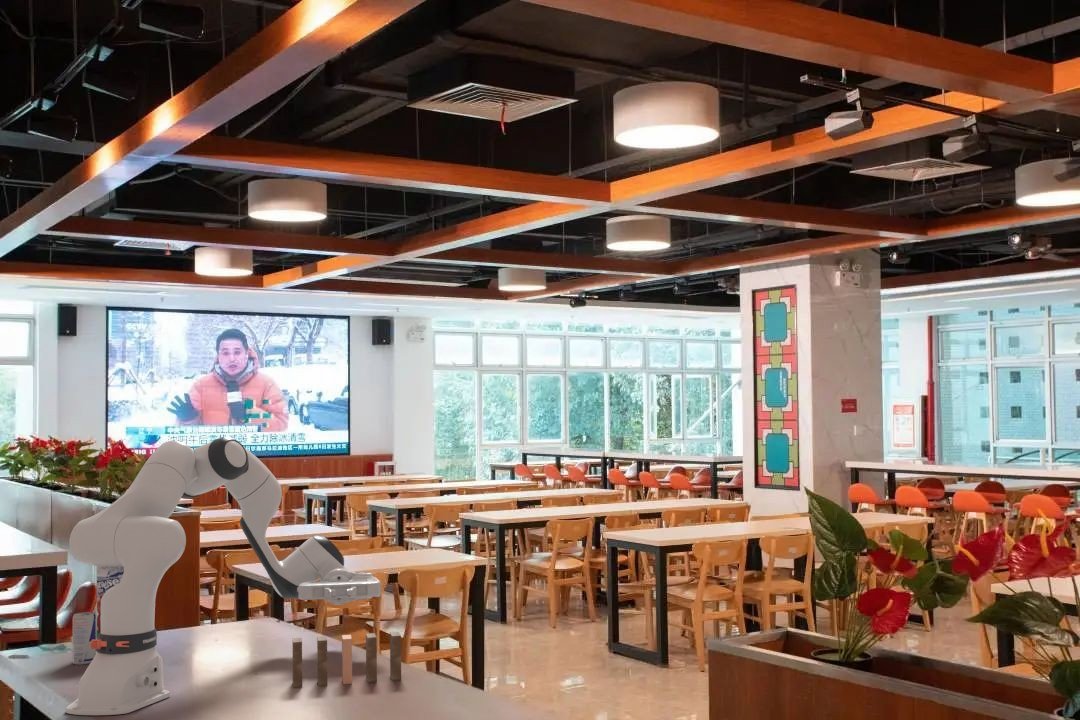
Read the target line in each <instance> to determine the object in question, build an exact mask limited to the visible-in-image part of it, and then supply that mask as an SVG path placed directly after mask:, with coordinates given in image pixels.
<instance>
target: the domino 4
mask: <svg viewBox="0 0 1080 720" xmlns="http://www.w3.org/2000/svg"><path fill="white" fill-rule="evenodd" d="M377 642H378V641H377V635H376V633H375V632H373V633H372V632H371V633H365V661H366V662H365V666H366V667H365V671H366V672H365V673H366V677H365V678H366V681H367V683H377V682H378V666H377V665H378V663H377V662H378V658H377V656H378V651H377V647H378V646H377Z"/></svg>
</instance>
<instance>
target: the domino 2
mask: <svg viewBox="0 0 1080 720" xmlns="http://www.w3.org/2000/svg"><path fill="white" fill-rule="evenodd" d="M316 637H317V638H316V639H317V640H316V645H317V646H316V647H317V650H316V657H317V658H316V659H317V661H316V662H317V663H316V666H317V670H316V673H317V676H316V677H317V686H318V687H323V686H325V687H327V686H328V638H327V636H326V635H325V636H316Z"/></svg>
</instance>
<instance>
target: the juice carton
mask: <svg viewBox="0 0 1080 720" xmlns="http://www.w3.org/2000/svg"><path fill="white" fill-rule="evenodd" d="M123 573H124V567H98V566H96V640H97V639H98V635H99V633H100V632H101V599H102V597H103V595H104V594H105V592H106V591H107V590H108V589H110V588H111V587H113V586H115V585H117V584H118V583H120V581H121V580H122V577H123Z"/></svg>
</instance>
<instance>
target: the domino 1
mask: <svg viewBox="0 0 1080 720" xmlns="http://www.w3.org/2000/svg"><path fill="white" fill-rule="evenodd" d="M302 639H303V638H302V637H294V638H292V642H291V643H292V688H293V689H296V688H297V689H298V688H303V640H302Z"/></svg>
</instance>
